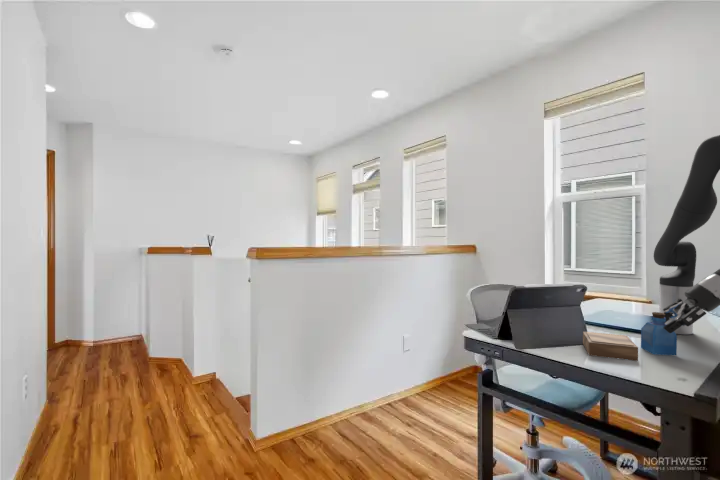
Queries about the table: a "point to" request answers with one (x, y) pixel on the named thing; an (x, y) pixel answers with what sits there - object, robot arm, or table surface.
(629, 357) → the block
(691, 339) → the table surface
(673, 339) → the perfume bottle
